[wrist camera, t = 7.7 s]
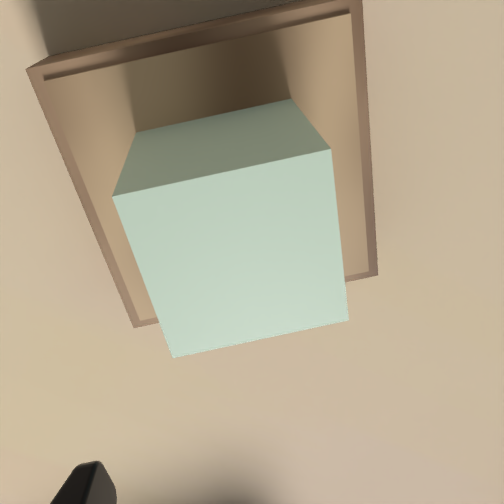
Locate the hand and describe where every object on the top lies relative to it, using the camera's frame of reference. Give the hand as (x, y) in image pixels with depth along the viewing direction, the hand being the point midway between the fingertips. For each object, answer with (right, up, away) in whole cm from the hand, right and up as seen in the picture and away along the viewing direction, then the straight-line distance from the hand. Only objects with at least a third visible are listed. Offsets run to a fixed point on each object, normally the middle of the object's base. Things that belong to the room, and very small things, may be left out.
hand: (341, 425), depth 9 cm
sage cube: (-2, +5, +7) cm, 9 cm away
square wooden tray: (-3, +7, +10) cm, 12 cm away
